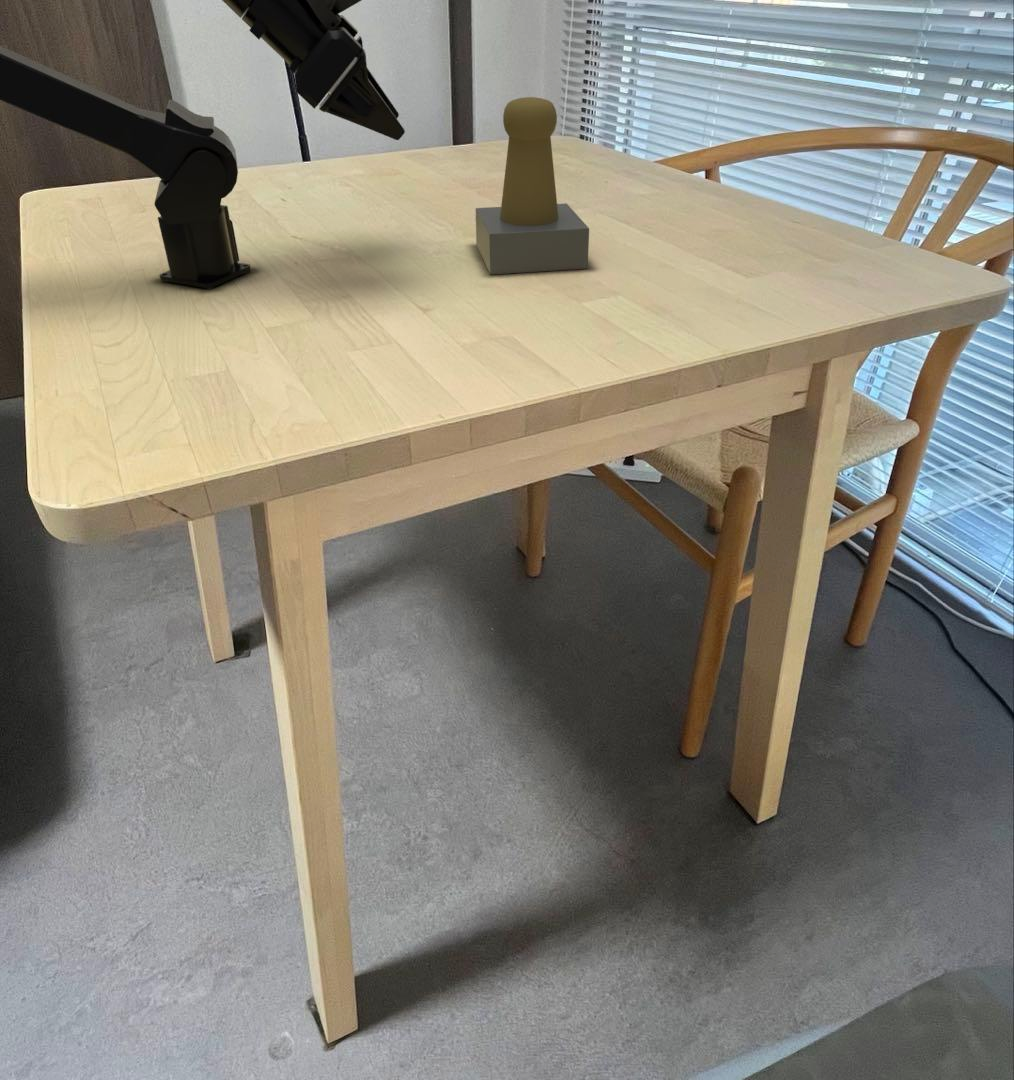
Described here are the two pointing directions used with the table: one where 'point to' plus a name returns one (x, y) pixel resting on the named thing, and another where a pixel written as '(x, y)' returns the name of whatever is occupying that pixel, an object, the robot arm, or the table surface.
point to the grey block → (532, 243)
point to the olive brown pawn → (529, 163)
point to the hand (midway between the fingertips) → (398, 127)
